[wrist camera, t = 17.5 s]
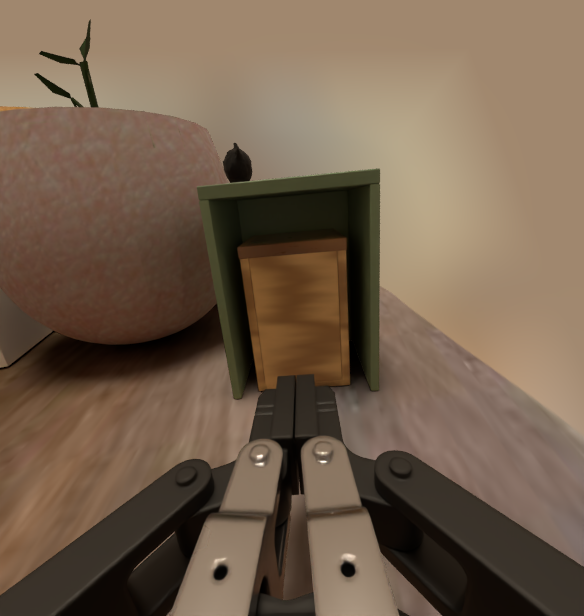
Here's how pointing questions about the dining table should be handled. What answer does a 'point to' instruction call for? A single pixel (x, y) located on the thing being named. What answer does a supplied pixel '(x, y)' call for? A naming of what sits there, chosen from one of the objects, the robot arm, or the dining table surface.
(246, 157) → the figurine
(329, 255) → the lidded wooden box
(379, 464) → the robot arm
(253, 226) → the cubby shelf
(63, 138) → the plant pot
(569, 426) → the dining table surface
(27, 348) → the bookstore
